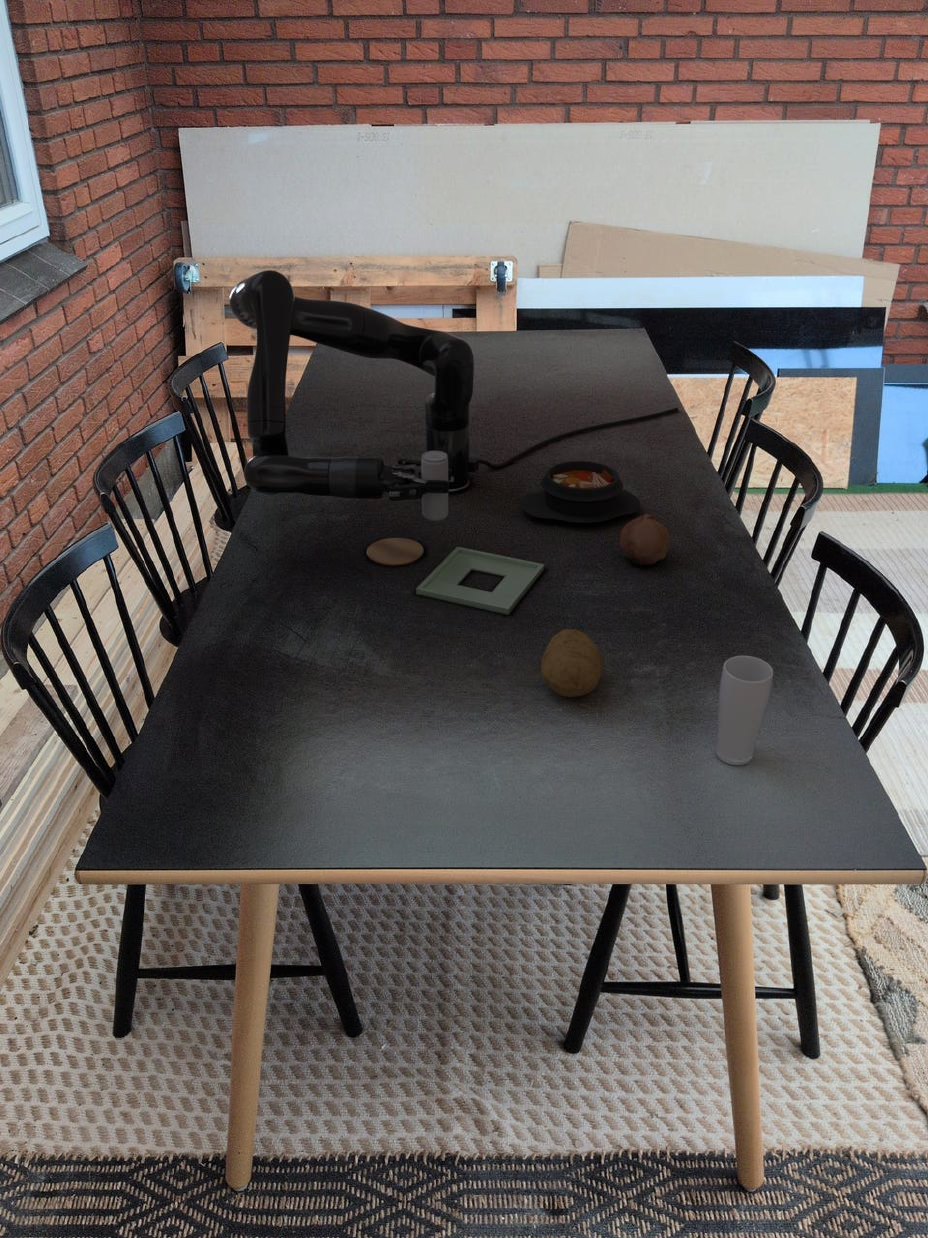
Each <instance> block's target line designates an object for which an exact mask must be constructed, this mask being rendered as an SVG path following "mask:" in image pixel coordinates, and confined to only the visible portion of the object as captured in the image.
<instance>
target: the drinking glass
mask: <svg viewBox="0 0 928 1238" xmlns="http://www.w3.org/2000/svg"><path fill="white" fill-rule="evenodd" d="M773 681H774V669H773V667H772V666H771V665H770V664H769V663H768V662H766V661H765V660H763V659H761V658H759V657H756V656H753V655H752V656H751V655H735V656H732V657H730V658H727V659H726V660H725V662H724V663H723V666H722V671H721V675H720V681H719V687H718V704H717V705H718V706H717V723H716V724H717V725H716V739H715V740H716V741H715V746H716V748H717V750H718V751H719V752H720V753H721V754H722V755H724V756H726V757H728V758H733V759H735V760H736V759H737V760H742V759H747V758H749V757H751V756H752V755H753V753H754V754H755V749H756V745H757V742H758V738H759V734H760V731H761V727H762V724H763V721H764V718H765V714H766V711H767V709H768V705H769V702H770V701H769V700H770V696H771V692H772V687H773ZM714 753H715V755H716V757H717V758H718V759H719V760H720V761H721V762H723V763H724V764H727V765H730V766H745V765H746V764H748V763H750V762H751V761H752V760H753V758H754V755H753V757H752V758H751V759H749V760H747V761H744V762H733V761H729V760H726V759H724V758H722V757H721V756H720V755H719V754H718V753H717V752H716V749H715V748H714Z"/></svg>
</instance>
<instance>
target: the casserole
mask: <svg viewBox="0 0 928 1238" xmlns="http://www.w3.org/2000/svg"><path fill="white" fill-rule="evenodd" d="M540 487H541V488H542V490H537V491H533V492H529V493H526V494H525V495H524V496H523V497H522V498H521V501H520V506H521V509H523V511H524V512H525V513H526V514H528V515H530V516H531V517H534V518H538V519H543V520H544V519H545V520H556V521H561V522H562V521H563V522H566V523H567V522H568V523H573V524H574V523H575V524H594V523H601V522H606V521H609V520H612V519H615V518H618V517H622V516H627V515H632V514H636V513H637V512H639V510H641V502H640V500H639V498H638V497H637V496H636V495H635V494H633V493H632V492H631V491H628V490H627V489H624V484H623V481H622V479H620V476H619V473H618V472H617V470H615V468H613V467H610V466H608V465H606V464H603V463H600V462H594V461H586V460H573V461H565V462H560V463H557V464H555V465H552V466H550V467H549V468H548V469H547V470H546V473H545V475H544V476H543V477H542V478H541V480H540Z"/></svg>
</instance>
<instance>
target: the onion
mask: <svg viewBox="0 0 928 1238" xmlns="http://www.w3.org/2000/svg"><path fill="white" fill-rule="evenodd" d="M619 544H620V548H621V551H622V552H623V554H624V555H625V556H626V557H627V559H628V560H630V561H631V562H632V563H633V564H635V565H639V566H641V567H644V566H651V565H655V564H656V562H659V561H660V560H664V559H665V557H666V556H667V552H668V551H669V549H670V544H671V536H670V533H669V531H668V529H667V528H666V527H665V525H664V524H663V523H661V522H660V521H659V520H658V519H657V518H656V517H655V516H653V515H652V514H650V513H644V514H642V515H639V516H638V517H636V518H634V519H632V520H630V521H629V522H627V523H626V524H625V525H624V526H623V528H622V529H621V531H620V534H619Z"/></svg>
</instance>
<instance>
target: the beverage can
mask: <svg viewBox="0 0 928 1238" xmlns="http://www.w3.org/2000/svg"><path fill="white" fill-rule="evenodd" d="M420 461H421V473H422V479H424V480H427V482H428V480H446V481H448V458H447V454H446V453H444V452H441V451H428V452H427V451H425V452H424V453H423V454H422V455H421V460H420ZM421 514H422V516H423V517H424V519H426V520H428V521H432V522H438V521H443V520H445V519H446V518H447V517H448V515H449V493H428V492H427V494H426V495H423V498H422V499H421Z"/></svg>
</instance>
